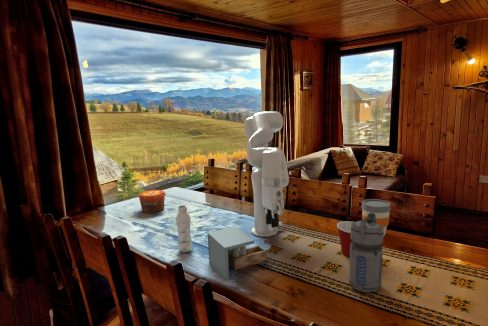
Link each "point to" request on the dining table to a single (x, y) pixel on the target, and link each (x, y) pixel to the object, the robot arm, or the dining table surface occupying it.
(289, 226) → the dining table surface
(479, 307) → the dining table surface
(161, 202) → the food container
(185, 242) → the plastic bottle
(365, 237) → the beverage bottle
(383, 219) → the reusable coffee cup
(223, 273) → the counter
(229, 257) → the tray
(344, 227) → the plastic cup
